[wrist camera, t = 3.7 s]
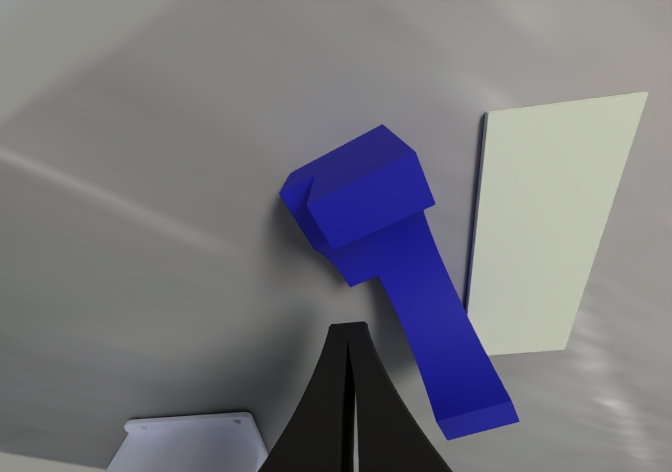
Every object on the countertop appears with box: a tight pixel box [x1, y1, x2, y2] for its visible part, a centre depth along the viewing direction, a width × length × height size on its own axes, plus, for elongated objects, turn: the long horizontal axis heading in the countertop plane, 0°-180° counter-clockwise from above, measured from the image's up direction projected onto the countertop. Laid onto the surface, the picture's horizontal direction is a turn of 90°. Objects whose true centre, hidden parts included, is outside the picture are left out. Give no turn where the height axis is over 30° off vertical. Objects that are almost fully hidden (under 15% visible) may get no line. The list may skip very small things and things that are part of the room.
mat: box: [465, 92, 649, 355], centre depth 15 cm, size 6×14×1 cm, turn 7°
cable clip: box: [279, 124, 520, 440], centre depth 12 cm, size 12×4×6 cm, turn 27°
